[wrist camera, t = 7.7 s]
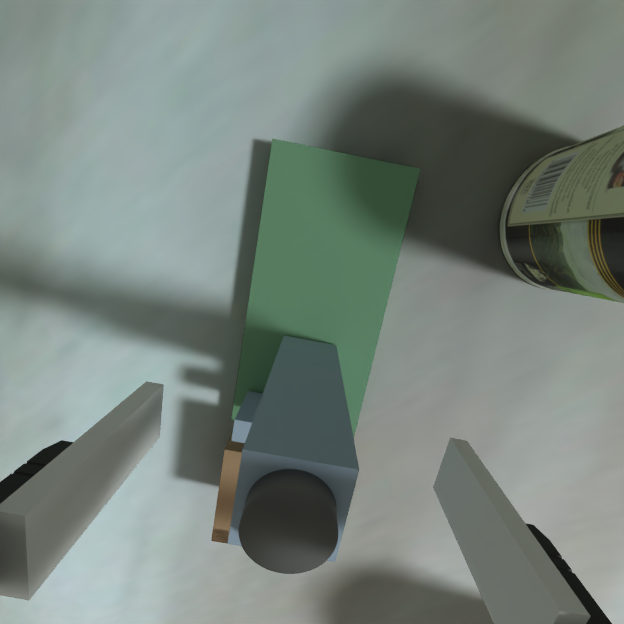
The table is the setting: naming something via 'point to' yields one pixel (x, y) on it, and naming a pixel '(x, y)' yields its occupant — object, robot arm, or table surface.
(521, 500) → the table surface
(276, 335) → the plate
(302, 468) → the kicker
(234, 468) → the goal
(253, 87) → the table surface
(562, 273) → the coffee can
